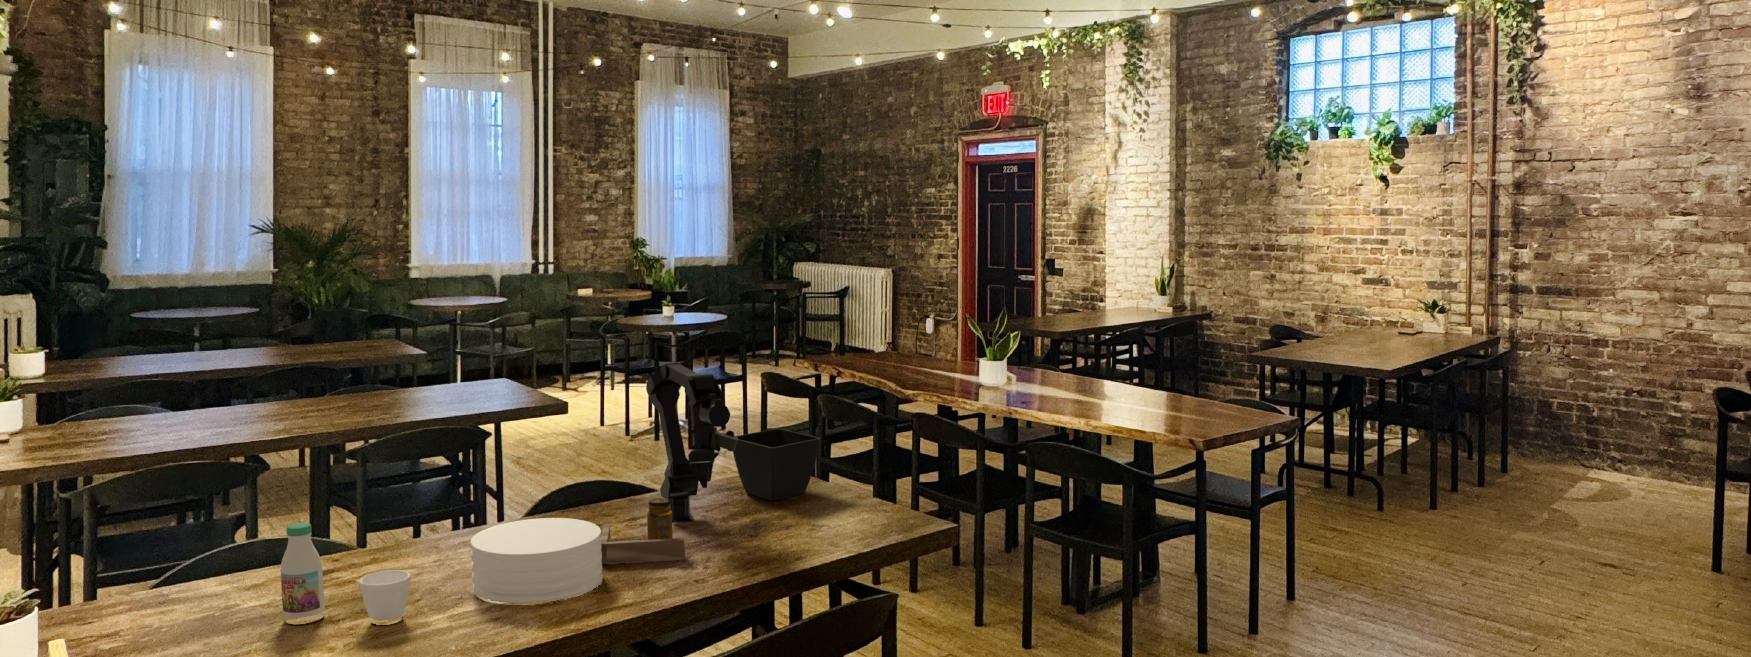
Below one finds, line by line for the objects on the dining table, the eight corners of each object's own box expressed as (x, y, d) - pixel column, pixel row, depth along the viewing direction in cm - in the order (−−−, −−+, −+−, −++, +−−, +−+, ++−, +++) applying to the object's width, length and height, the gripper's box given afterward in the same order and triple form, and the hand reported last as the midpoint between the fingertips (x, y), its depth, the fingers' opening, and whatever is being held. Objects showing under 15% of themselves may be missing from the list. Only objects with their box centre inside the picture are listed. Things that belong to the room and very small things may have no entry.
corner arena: (604, 543, 295) (603, 523, 295) (683, 538, 299) (682, 519, 298) (600, 564, 278) (600, 544, 278) (684, 560, 282) (683, 539, 281)
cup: (362, 633, 236) (360, 588, 235) (358, 617, 244) (356, 574, 243) (416, 624, 240) (413, 580, 239) (410, 609, 249) (408, 566, 248)
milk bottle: (292, 613, 247) (286, 520, 245) (331, 612, 248) (325, 519, 245) (277, 627, 239) (271, 531, 237) (316, 625, 240) (310, 530, 238)
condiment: (676, 543, 293) (675, 496, 292) (672, 554, 285) (671, 505, 284) (646, 544, 293) (645, 497, 292) (641, 554, 285) (640, 506, 283)
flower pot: (822, 493, 343) (821, 436, 341) (773, 506, 329) (772, 447, 327) (778, 482, 356) (778, 427, 354) (729, 494, 342) (728, 437, 340)
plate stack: (534, 559, 284) (532, 512, 282) (628, 575, 271) (626, 526, 270) (444, 594, 259) (442, 544, 257) (543, 614, 246) (541, 561, 245)
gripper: (731, 426, 291) (735, 489, 292) (737, 417, 310) (741, 476, 310) (686, 429, 291) (690, 492, 291) (695, 419, 309) (698, 479, 310)
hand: (706, 484), depth 301 cm, fingers open, 9 cm apart
